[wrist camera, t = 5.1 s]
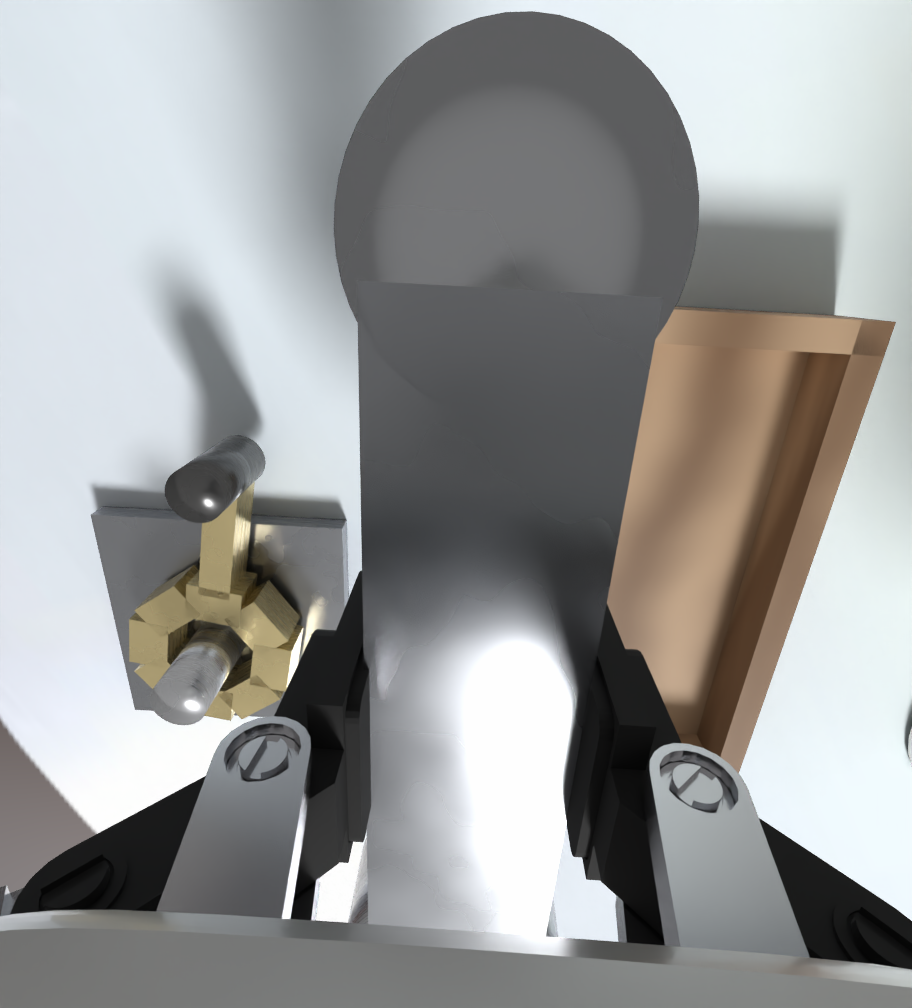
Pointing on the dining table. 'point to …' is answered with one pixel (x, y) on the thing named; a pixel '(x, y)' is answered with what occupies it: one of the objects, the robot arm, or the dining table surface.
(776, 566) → the tray
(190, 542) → the nut base
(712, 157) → the dining table surface
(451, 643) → the silver dumbbell
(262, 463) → the ring nut
